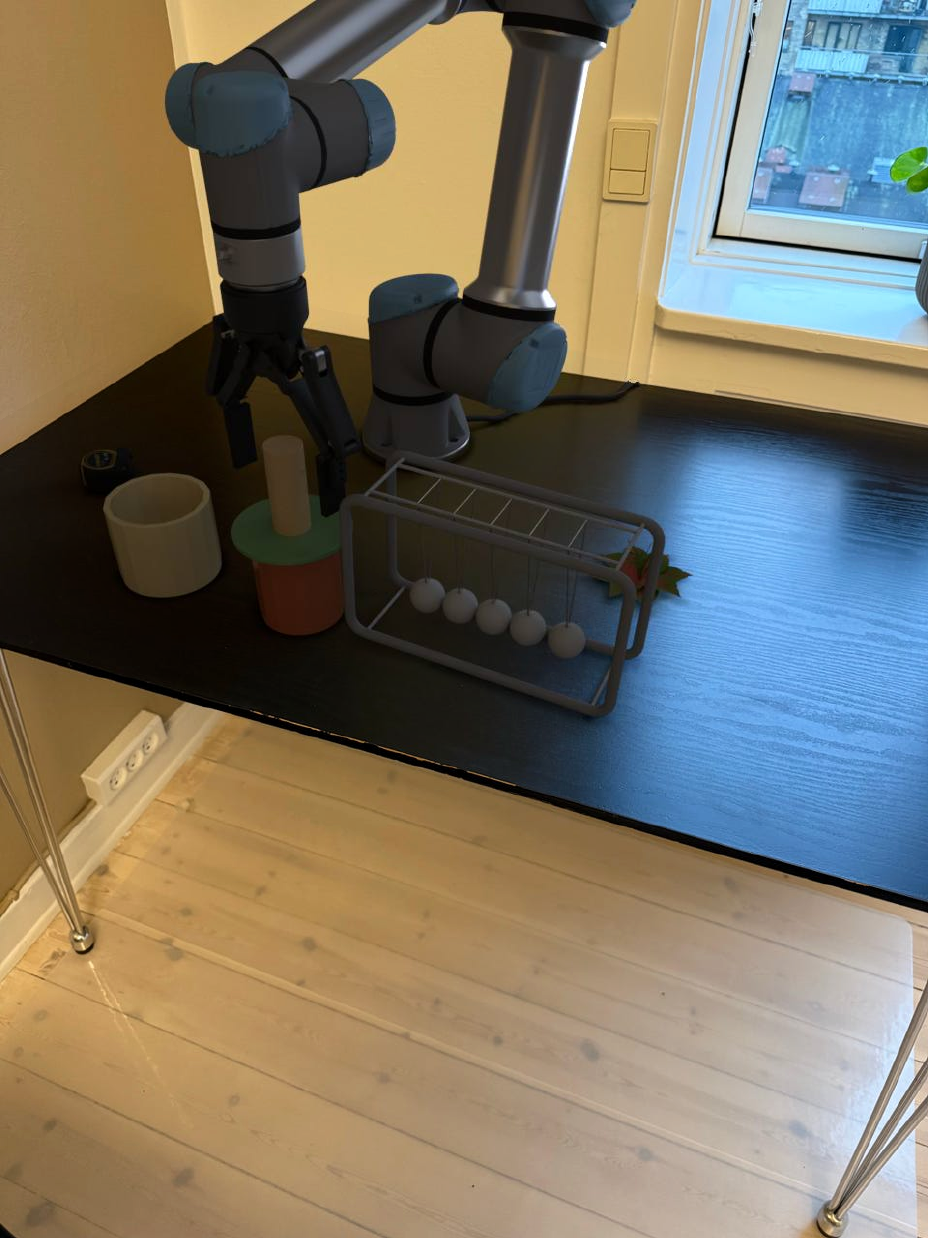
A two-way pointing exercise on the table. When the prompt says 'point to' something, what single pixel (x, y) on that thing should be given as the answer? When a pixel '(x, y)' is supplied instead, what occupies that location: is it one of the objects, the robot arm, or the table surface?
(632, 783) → the table surface
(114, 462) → the tape measure
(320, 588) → the cup
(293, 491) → the lid
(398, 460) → the newton's cradle
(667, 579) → the red green leaf
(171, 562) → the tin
